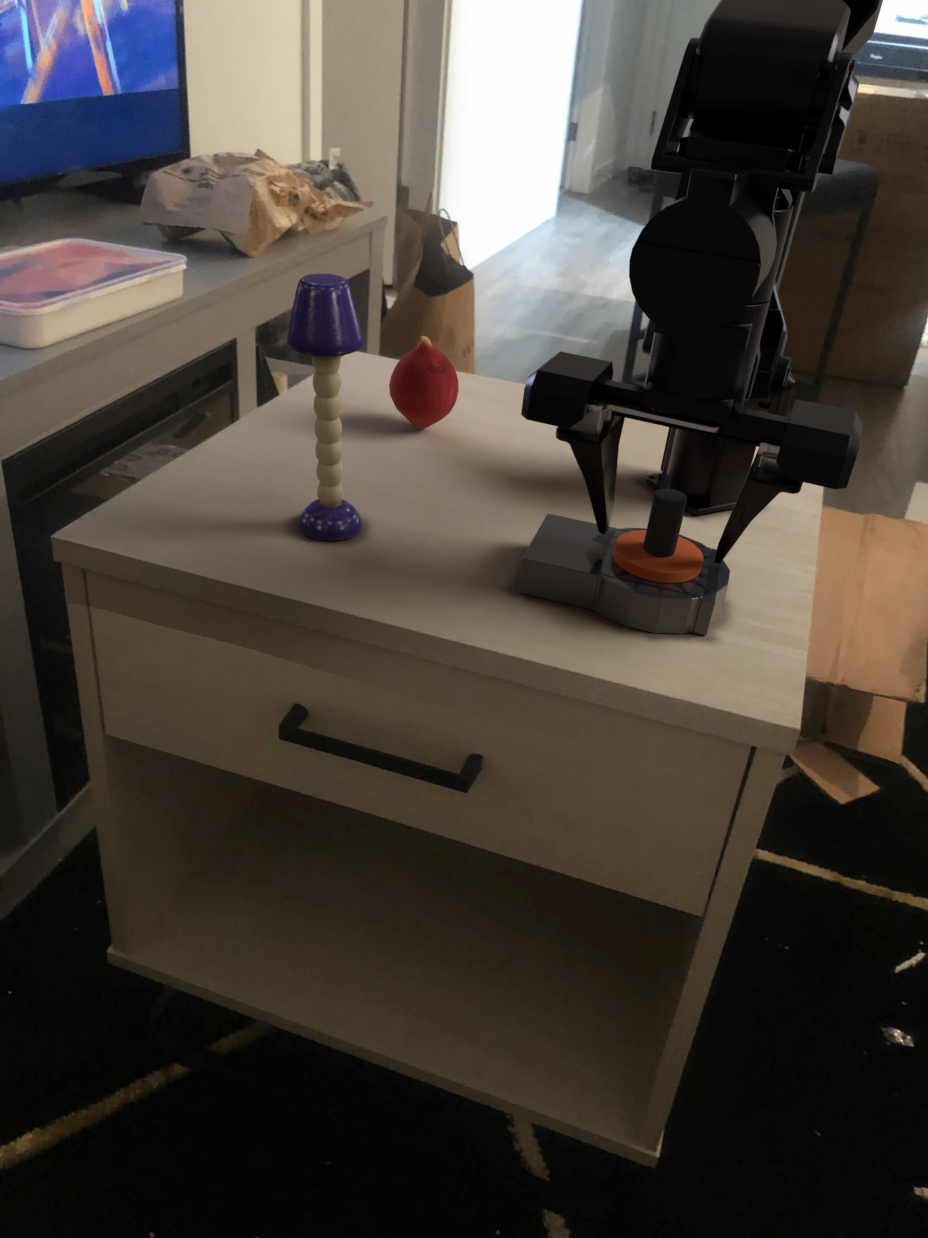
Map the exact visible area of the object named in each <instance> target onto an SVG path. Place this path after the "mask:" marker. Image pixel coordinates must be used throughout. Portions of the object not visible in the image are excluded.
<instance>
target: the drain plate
mask: <svg viewBox="0 0 928 1238" xmlns="http://www.w3.org/2000/svg"><path fill="white" fill-rule="evenodd" d="M635 530H647V527H622V528H617V527H613V526H609V529H608V531H607V532H606V534H601V533H599V531H598V527H597V524H596V522H590V521H585V520H580V519H576V518H571V517H567V516H561V515H557V514H552V513H547V514H545V516H544V518H543V520H542V522H541V523H540V525H539V527H538V528H537V531H536V533H535V535H534V537H533V538H532V539H531V541H530V543H529V545H528V547H527V548H526V550H525V552H524V554H523V556H522V558H521V563H520V571H519V577H518V584H517V593H518V594H524V595H528V596H532V597H536V598H541V599H545V600H550V601H554V602H558V603H563V604H566V605H571V606H575V607H579V608H584V609H588V610H592V611H595V612H596V613H598V614H599V615H600V616H602V617H604V618H606V619H609V620H610V621H612V622H615V623H617V624H619V625H621V626H623V627H627V628H630V629H635V630H640V631H644V632H648V633H651V634H672V635H673V634H675V635H678V634H680V635H682V634H688V633H691V634H692V633H694V634H697V635H702V636H707V635H708V634H709V629H710V627H711V626H710V625H711V624H713V623H714V622H715V621H717V620H718V618H720V616H721V612H722V610H723V605H724V601H725V598H726V594H727V591H728V587H729V582H730V576H731V569H730V567H729V566H728V564H727V563H726V562H725V560H724V559H723V561H722V562H721V563H720V564H718V563H715V562H714V559H715V555H716V551H717V548H711V547H708V546H706V545H705V544H703V542H700V541H697V540H694V539H692V538H690V537H687V536H685V535H682V534H680V533H679V536H680V537H682V538H684V539H686V540H688V541H690V542H691V543H693V544H694V545H696V546H697V547H698V548H699V550H700V551H701V552H702V555H703V563H702V567H701V571H700V573H699V574H698V575H697V576H696V577H695V578H693V579H691V580H689V581H685V582H680V583H660V582H654V581H649V580H645V579H642V578H639V577H636V576H634V575H632V574H630V573H628V572H626V571H625V570H623V569H622V568H621V567H619V566H618V565H617V564H616V562H615V561H614V558H613V548H614V543H615V540H616V539H617V538H618V537H619V536H620V535H622V534H624V533H626V532H630V531H635Z"/></svg>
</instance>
